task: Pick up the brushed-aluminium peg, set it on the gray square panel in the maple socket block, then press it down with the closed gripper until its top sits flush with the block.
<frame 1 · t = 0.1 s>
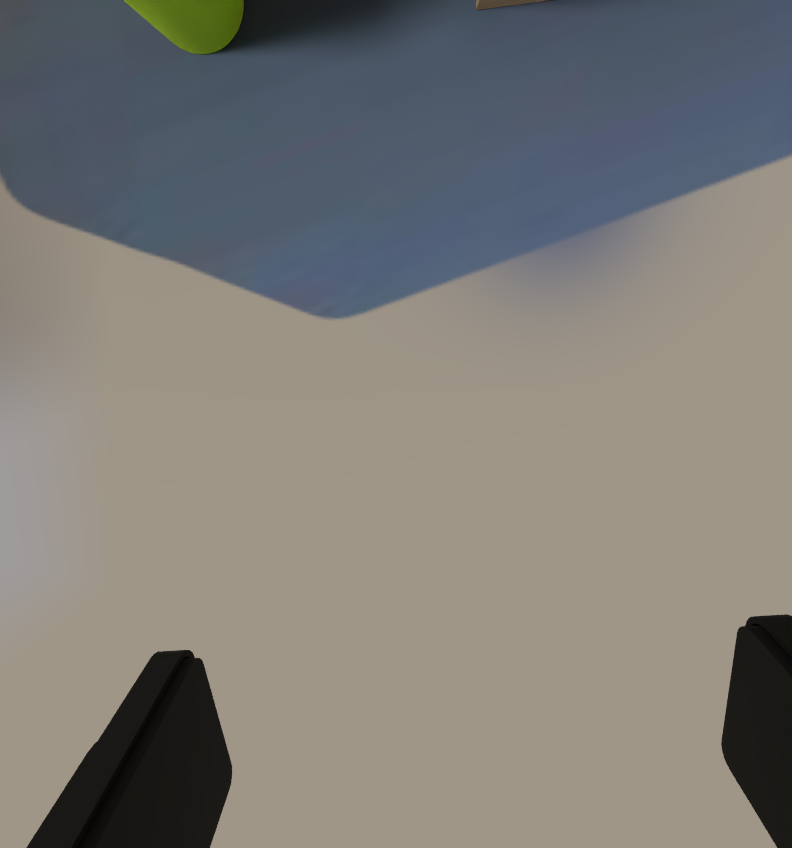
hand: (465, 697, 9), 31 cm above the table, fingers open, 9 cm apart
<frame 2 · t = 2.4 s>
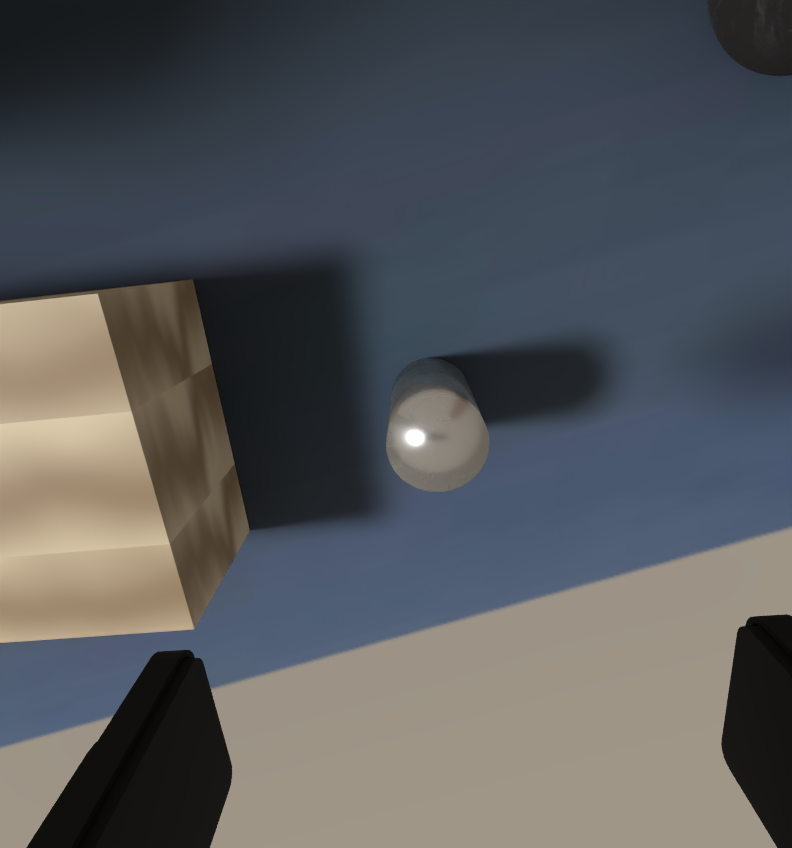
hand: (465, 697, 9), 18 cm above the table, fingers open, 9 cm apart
socket block: (43, 432, 28), on the table
peg: (430, 395, 26), on the table
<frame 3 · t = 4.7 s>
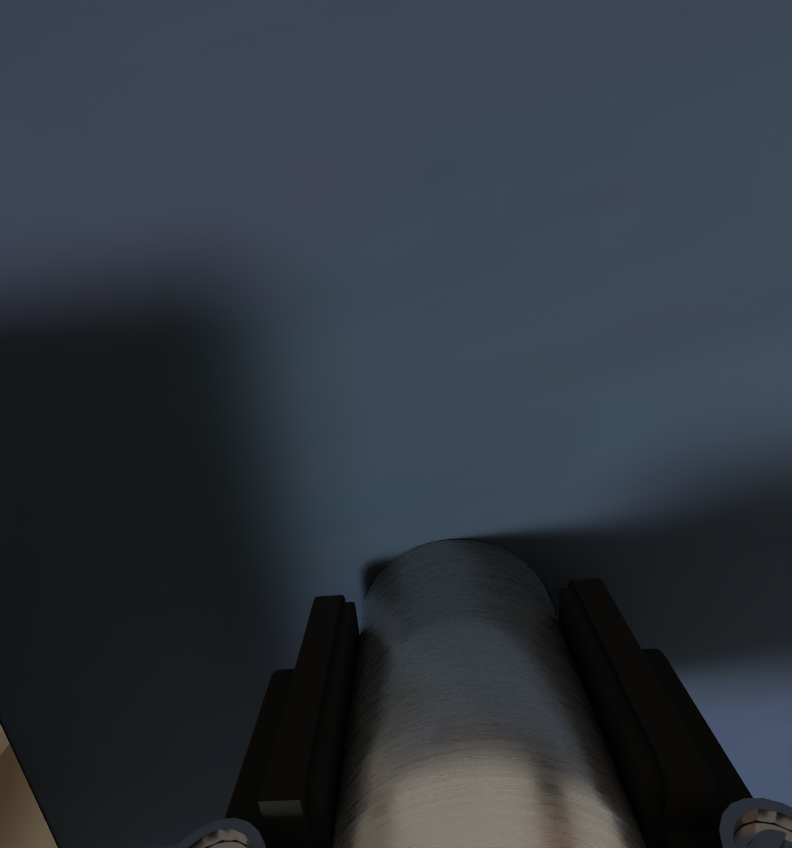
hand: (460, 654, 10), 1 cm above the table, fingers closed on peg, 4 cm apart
peg: (456, 621, 11), on the table, touching gripper
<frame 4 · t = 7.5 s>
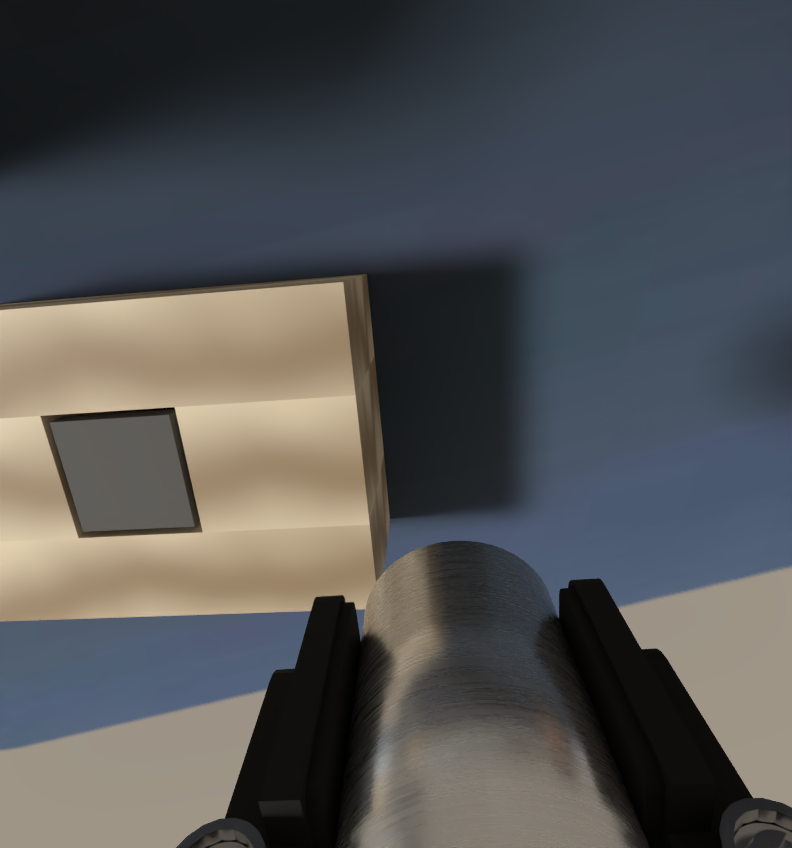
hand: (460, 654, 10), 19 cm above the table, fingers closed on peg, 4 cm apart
gray square panel: (129, 472, 22), point 8 cm above the table, slide at 0.0 cm
socket block: (203, 417, 29), on the table
peg: (458, 622, 11), point 18 cm above the table, touching gripper
when the fingers open (10 cm above the table, at t = 10.4 s): peg drops 1 cm, resting on gray square panel.
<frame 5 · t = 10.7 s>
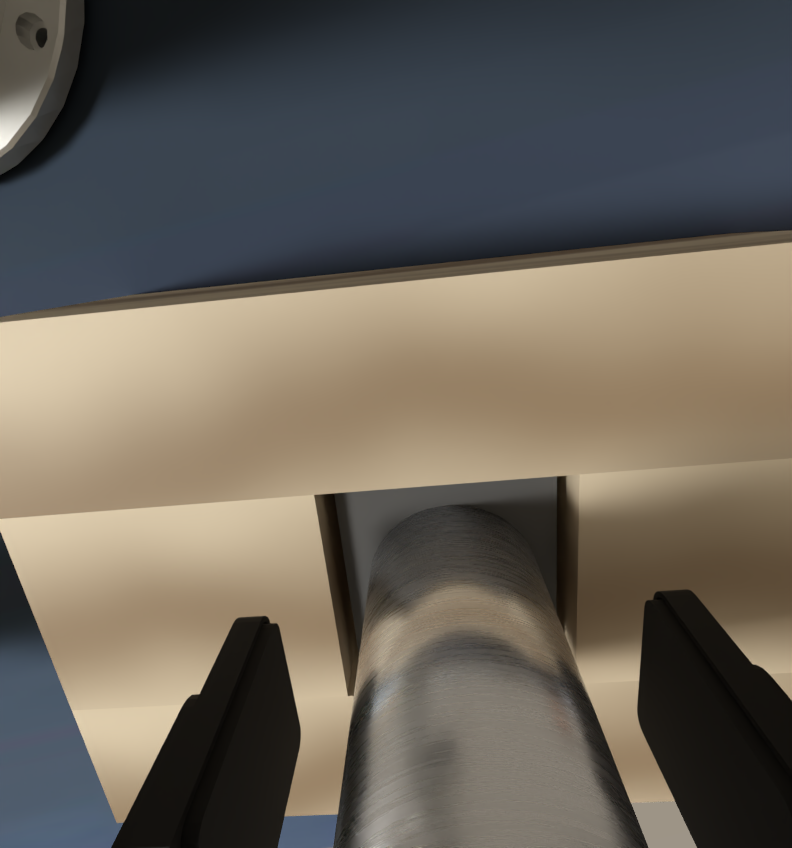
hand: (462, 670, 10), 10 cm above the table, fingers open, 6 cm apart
gray square panel: (449, 568, 13), point 7 cm above the table, slide at 0.6 cm, touching peg
socket block: (436, 458, 19), on the table
peg: (453, 579, 12), point 7 cm above the table, touching gray square panel
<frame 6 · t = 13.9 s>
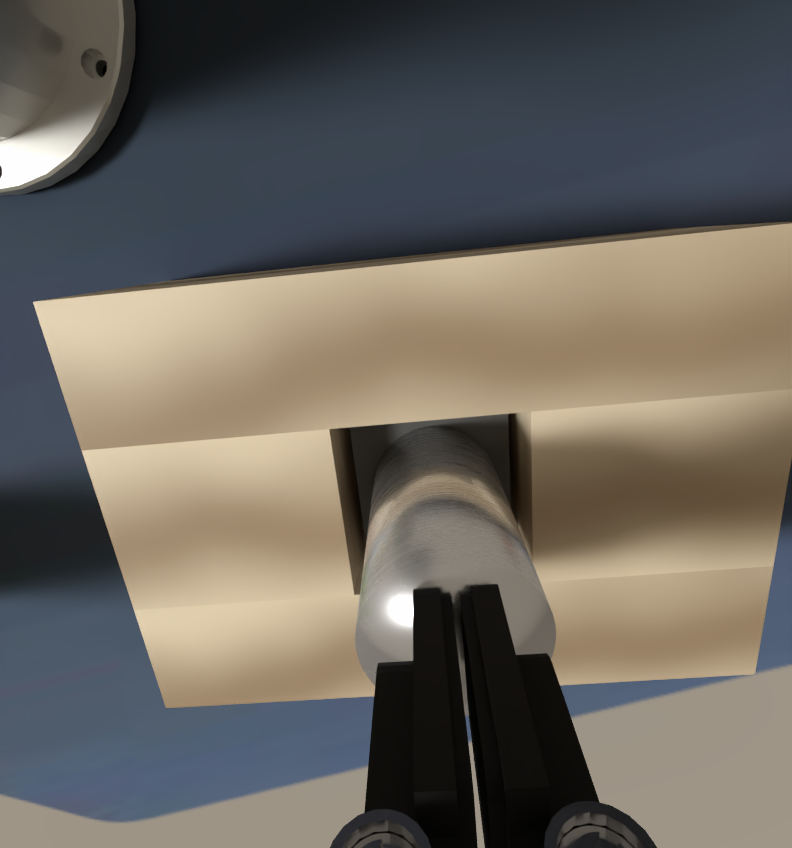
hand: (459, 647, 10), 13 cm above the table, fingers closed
gray square panel: (432, 477, 17), point 6 cm above the table, slide at 1.8 cm, touching peg
socket block: (426, 421, 23), on the table
peg: (434, 483, 17), point 6 cm above the table, touching gripper, gray square panel
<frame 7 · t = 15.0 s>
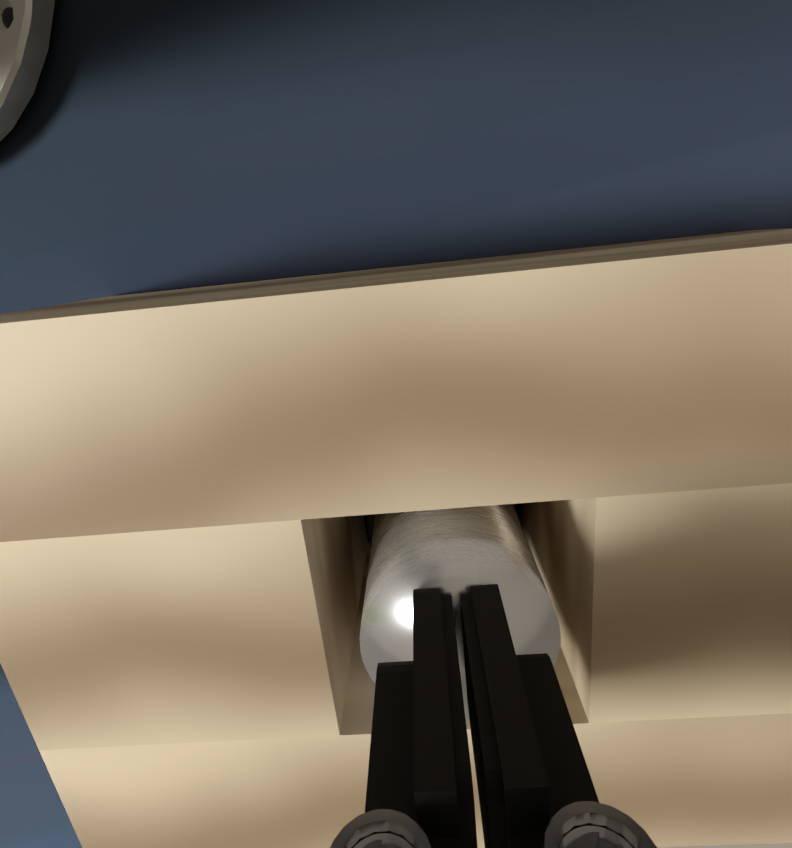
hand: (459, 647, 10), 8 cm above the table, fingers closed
gray square panel: (438, 482, 17), point 1 cm above the table, slide at 6.6 cm, touching peg
socket block: (436, 469, 18), on the table
peg: (440, 488, 17), point 1 cm above the table, touching gripper, gray square panel
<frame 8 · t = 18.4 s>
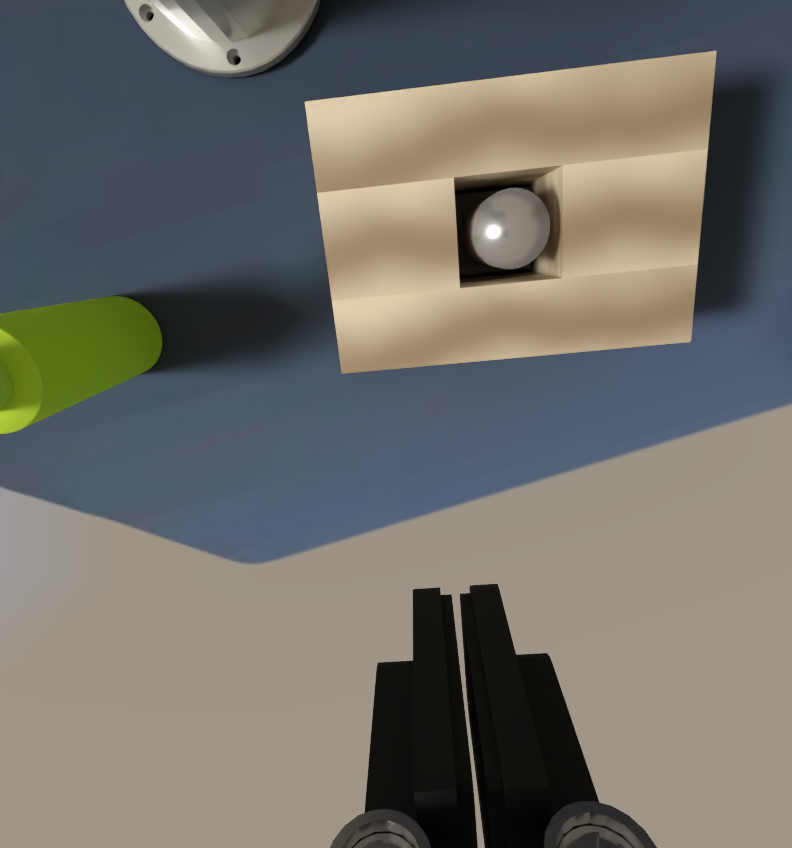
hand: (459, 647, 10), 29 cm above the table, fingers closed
gray square panel: (490, 232, 34), point 1 cm above the table, slide at 6.6 cm, touching peg
socket block: (488, 233, 35), on the table
peg: (492, 233, 33), point 1 cm above the table, touching gray square panel
lime green cylinder: (124, 329, 38), on the table
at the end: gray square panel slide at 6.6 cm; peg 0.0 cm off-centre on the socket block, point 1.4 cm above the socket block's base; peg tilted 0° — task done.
